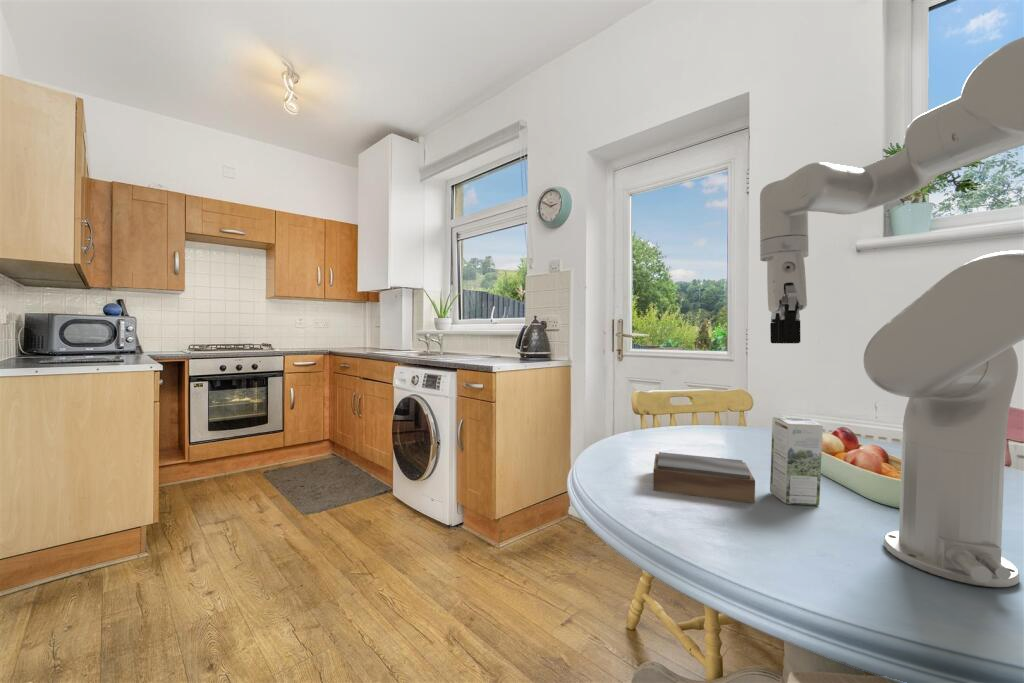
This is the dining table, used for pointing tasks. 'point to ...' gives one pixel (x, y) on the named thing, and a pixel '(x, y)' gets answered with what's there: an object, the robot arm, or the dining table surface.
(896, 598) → the dining table surface
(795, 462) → the syrup box
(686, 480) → the block
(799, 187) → the robot arm
